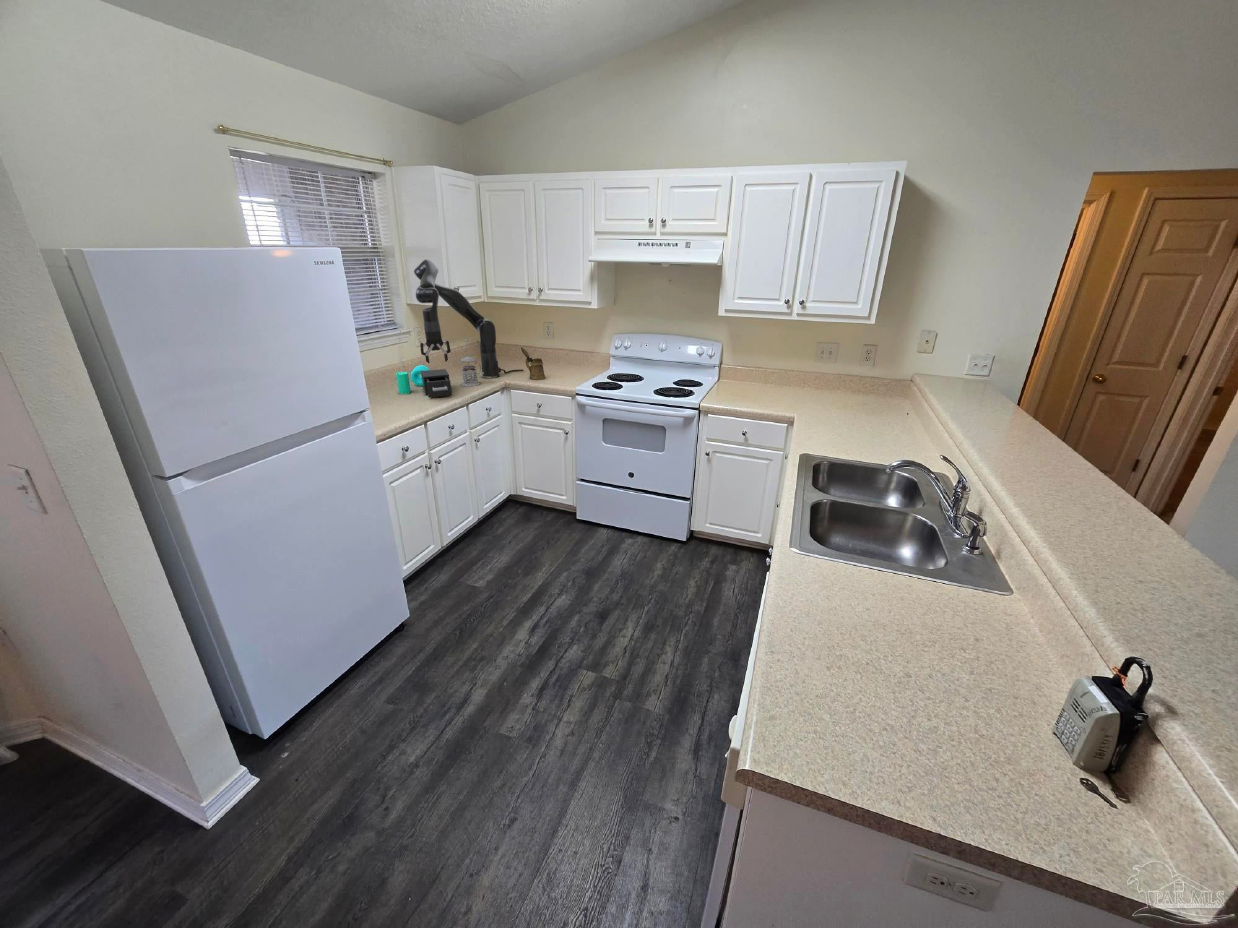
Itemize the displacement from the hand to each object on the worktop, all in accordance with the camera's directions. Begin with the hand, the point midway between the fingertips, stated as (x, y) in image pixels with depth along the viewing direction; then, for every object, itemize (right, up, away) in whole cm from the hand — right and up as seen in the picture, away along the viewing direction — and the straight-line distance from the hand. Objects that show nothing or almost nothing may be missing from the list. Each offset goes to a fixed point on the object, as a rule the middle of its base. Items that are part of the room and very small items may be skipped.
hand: (437, 362), depth 261 cm
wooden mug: (+43, -1, +42) cm, 60 cm away
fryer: (-5, -13, +14) cm, 19 cm away
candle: (-21, -14, +10) cm, 27 cm away
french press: (+10, -7, +28) cm, 31 cm away
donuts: (-18, -7, +27) cm, 33 cm away
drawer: (0, -16, +4) cm, 16 cm away
